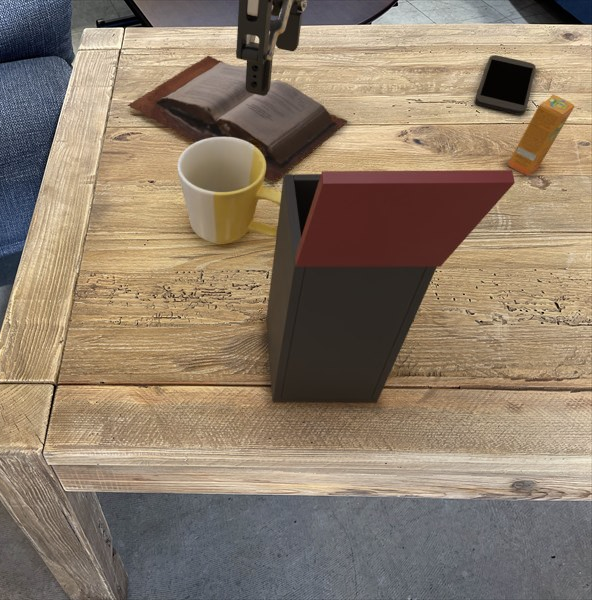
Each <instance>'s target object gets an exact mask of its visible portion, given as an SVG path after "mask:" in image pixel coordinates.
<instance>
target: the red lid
mask: <svg viewBox="0 0 592 600" xmlns="http://www.w3.org/2000/svg"><path fill="white" fill-rule="evenodd" d="M513 172H514V171H513V169H482V170H481V169H480V170H479V169H472V170H471V169H470V170H467V169H466V170H465V169H464V170H462V169H461V170H457V169H456V170H452V169H451V170H326V171H325V170H324V171H323V170H322V171H321V173H320V174H321V176H320V180H319V183H318V186H317V189H316V192H315V195H314V199H313V202H312V205H311V208H310V211H309V214H308V218H307V221H306V224H305V227H304V230H303V234H302V237H301V240H300V243H299V246H298V249H297V253H296V256H295V264H296V267H437V268H438V267H442V266H443V265H444V263H445V262H447V260H448V259H449V258H450V256H452V255H453V253H454V252H455V251H456V250H457V249H458V248H459V246H460V245H461V244H463V242H464V241H465V240H466V239H467V237H469V235H470V234H471V233H472V232H473V231H474V230H475V229H476V227H477V226H478V225H479V224H480V223H481V222H482V221H483V220H484V218H486V216H487V215H489V213H490V211H491V210H492V209H493V208H494V207H495V206H496V205H497V204H498V203H499V201H500V200H501V199H502V198H503V197H504V196H505V195H506V194H507V192H509V190H510V189H511V188H512V187H513V185H514V184H515V183H516V181H515V177H514V173H513Z"/></svg>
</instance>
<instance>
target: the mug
mask: <svg viewBox="0 0 592 600" xmlns="http://www.w3.org/2000/svg"><path fill="white" fill-rule="evenodd" d="M258 148H259V147H257V146H256V145H254V144H252V143H251V142H250V143H249V142H247V141H244V140H241V139H238V138H233V137H213V138H207V139H204V140H201V141H198V142H194V143H192V144H190V145H189V146H188V147H186V148H185V149H184V150H183V151H182V152H181V153H180V156H179V158H178V160H177V163H176V164H177V165H176V167H177V168H176V169H177V174H178V175H177V176H178V179H179V183H180V187H181V191H182V195H183V199H184V203H185V207H186V211H187V216H188V219H189V223H190V227H191V229H192V230H193V232H194V233H195V234H196V235H197V236H198V237H200V238H201V239H203V240H205V241H206V242H209V243H211V244H217V245H224V244H230V243H233V242H235V241H237V240H239V239H241V238H243V236H245V235H246V234H247V233H248V232H249V231H250V232H252V233H255V234H259V235H263V236H267V237H272V238H276V234H277V226H273V225H270V224H267V223H264V222H261V221H258V220H255V219H254V217H255V213H256V210H257V206H258V203H259V200H265V201H270V202H272V203H275V204H277V205H278V206H279V207H280V201H281V193H282V191H280V190H277V189H273V188H270V187H267V186H265V185H264V180H265V178H264V177H265V172H266V161H265V158H264V156H263V154H262V153H261V152H260V150H259V149H258Z"/></svg>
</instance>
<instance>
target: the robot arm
mask: <svg viewBox="0 0 592 600" xmlns="http://www.w3.org/2000/svg"><path fill="white" fill-rule="evenodd" d="M307 6H308V0H238V12H237V14H238V15H237V33H236V48H235V49H236V50H235V57H236V59H238V60H242V61H246V66H245V67H246V90H247V92H249V93H252V94H257V95H261V96H265V95H267V93H268V92H269V90H270V84H271V83H272V70H273V59H274V55H275V48H277V49H279V50H284V51H288V52H295V51H296V50H297V49H298V47H299V44H300V37H301V27H302V20H303V19H302V18H303V13H304V12H305V10H306V8H307ZM272 17H277V18H276V19H274V20H272ZM256 37H257V38H258V42H255V41H256Z"/></svg>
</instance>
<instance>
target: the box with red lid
mask: <svg viewBox="0 0 592 600" xmlns="http://www.w3.org/2000/svg"><path fill="white" fill-rule="evenodd" d="M320 176H321V173H298V174H297V173H295V174H294V173H284V174H283V176H282V177H283V178H282V187H281V192H282V193H281V201H280V206H279V210H278V218H277V226H276V227H277V234H276V237H275V243H274V252H273V261H272V268H271V276H270V285H269V294H268V301H267V310H266V316H265V317H266V318H265V321H266V322H265V323H266V324H265V325H266V336H267V337H266V338H267V350H268V361H269V362H268V364H269V378H270V379H269V380H270V390H271V391H270V392H271V393H270V394H271V403H303V404H304V403H306V404H307V403H309V404H310V403H314V404H315V403H316V404H317V403H318V404H319V403H320V404H321V403H322V404H323V403H326V404H328V403H330V404H332V403H333V404H335V403H336V404H378V401H379V399H380V397H381V395H382V392H383V391H384V388H385V386H386V384H387V381H388V379H389V377H390V374H391V372H392V370H393V368H394V365H395V363H396V361H397V359H398V356H399V354H400V352H401V350H402V348H403V345H404V343H405V340H406V338H407V337H408V334H409V331H410V329H411V328H412V327H411V326H413V322H414V320H415V318H416V316H417V313H418V312H419V309H420V307H421V304H422V302H423V300H424V297H425V296H426V293H427V291H428V288H429V287H430V284H431V282H432V280H433V277H434V275H435V273H436V270H437V268H438V267H296V264H295V256H296V253H297V249H298V246H299V243H300V240H301V237H302V234H303V230H304V227H305V224H306V221H307V218H308V214H309V211H310V208H311V205H312V202H313V199H314V195H315V192H316V189H317V186H318V183H319V180H320Z"/></svg>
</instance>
